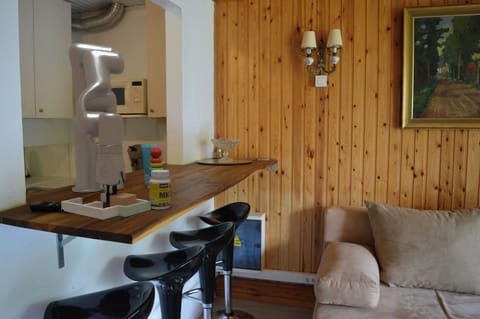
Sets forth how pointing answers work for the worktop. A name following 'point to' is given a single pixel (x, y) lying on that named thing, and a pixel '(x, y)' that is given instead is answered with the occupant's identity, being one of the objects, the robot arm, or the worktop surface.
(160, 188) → the supplement bottle
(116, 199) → the block
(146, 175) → the tube
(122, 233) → the worktop surface
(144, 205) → the box
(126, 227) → the worktop surface
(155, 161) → the stacking toy
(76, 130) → the robot arm
